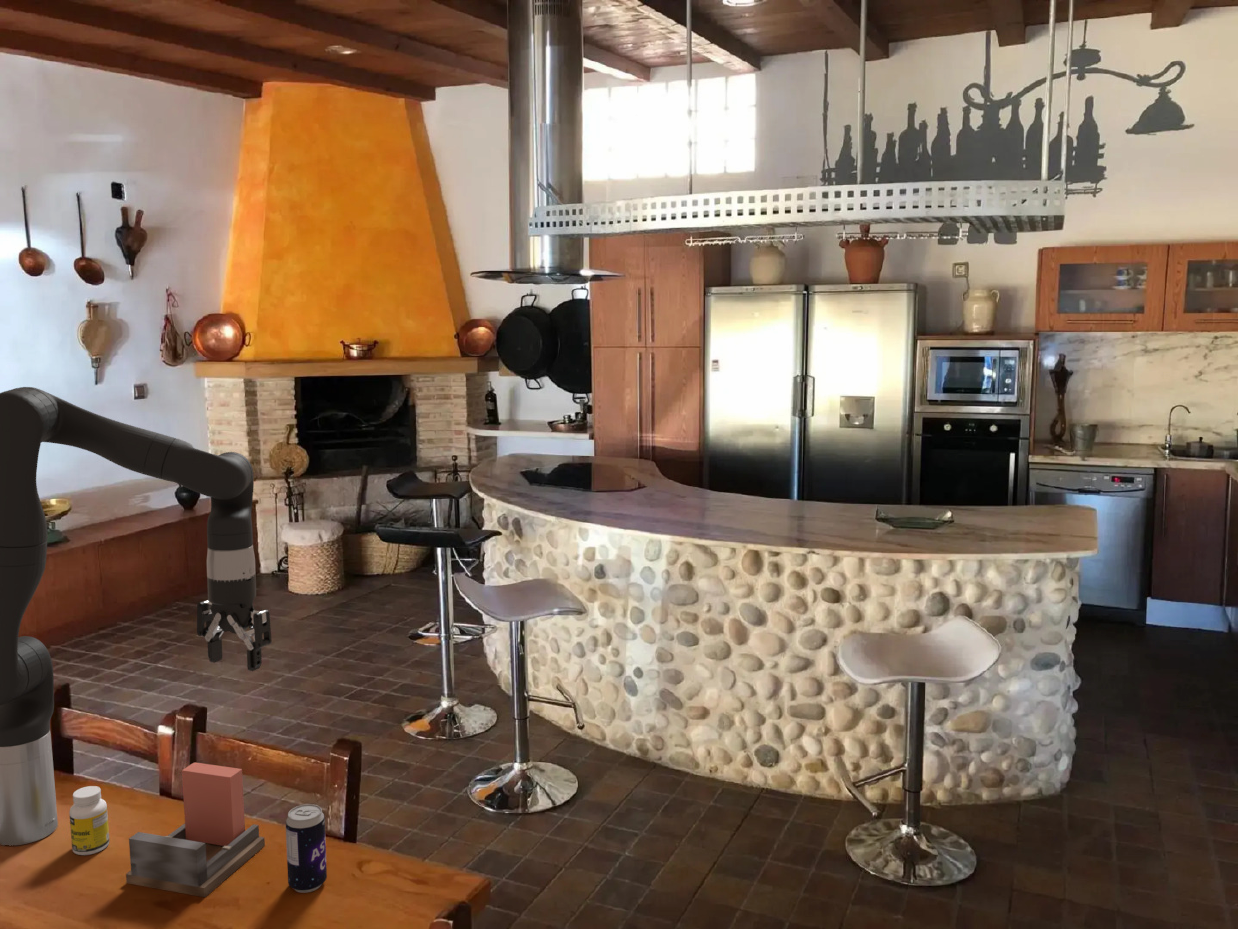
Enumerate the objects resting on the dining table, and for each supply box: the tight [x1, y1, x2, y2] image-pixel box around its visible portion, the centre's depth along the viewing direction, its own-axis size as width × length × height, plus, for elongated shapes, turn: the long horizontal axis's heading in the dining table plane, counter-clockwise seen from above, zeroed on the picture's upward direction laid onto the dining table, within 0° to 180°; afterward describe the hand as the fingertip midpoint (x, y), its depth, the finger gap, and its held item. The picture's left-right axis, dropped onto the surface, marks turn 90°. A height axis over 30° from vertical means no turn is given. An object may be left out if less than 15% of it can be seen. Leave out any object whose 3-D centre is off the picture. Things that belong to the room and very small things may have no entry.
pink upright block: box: [181, 762, 246, 846], centre depth 158 cm, size 9×3×12 cm, turn 75°
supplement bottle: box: [68, 785, 110, 856], centre depth 159 cm, size 5×5×10 cm
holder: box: [125, 823, 266, 898], centre depth 154 cm, size 14×15×8 cm
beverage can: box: [285, 803, 328, 894], centre depth 149 cm, size 6×6×12 cm
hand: (234, 665), depth 165 cm, fingers open, 8 cm apart
